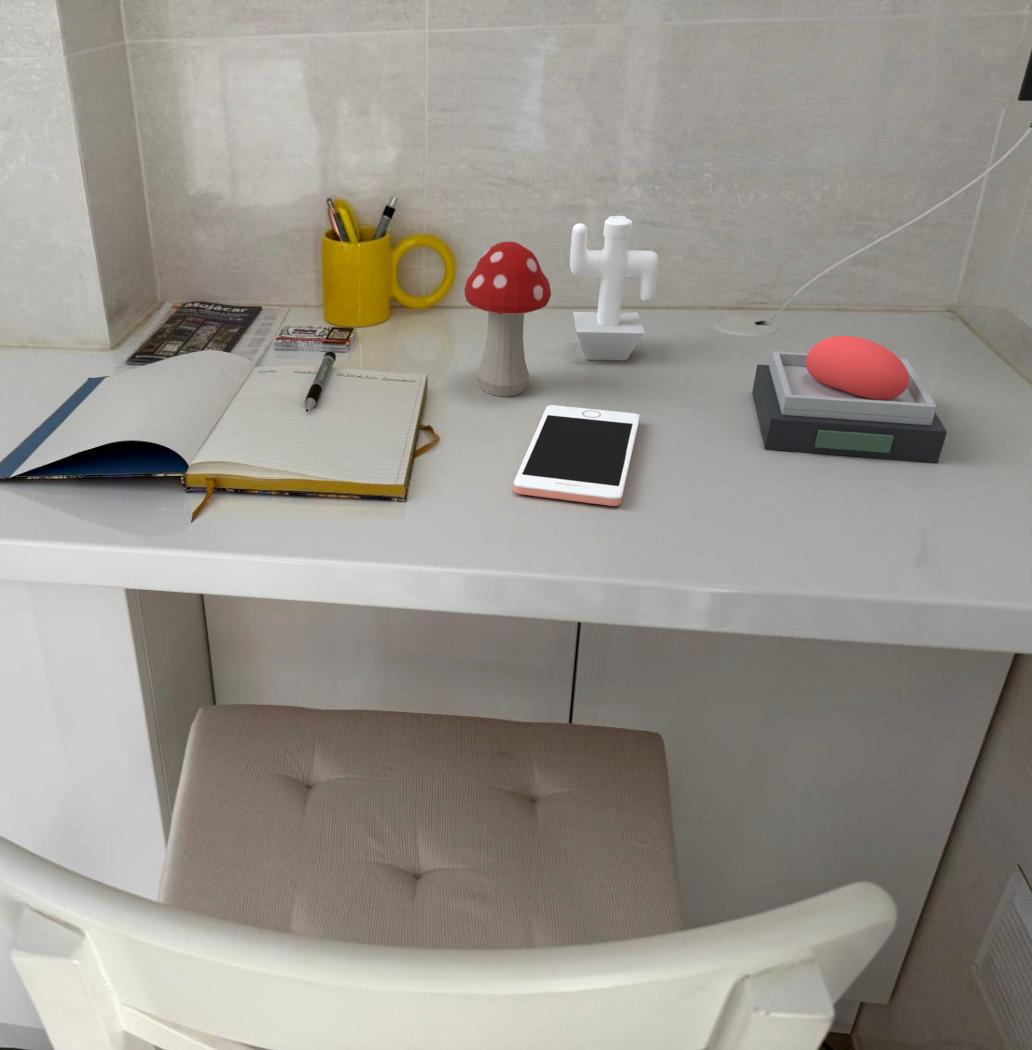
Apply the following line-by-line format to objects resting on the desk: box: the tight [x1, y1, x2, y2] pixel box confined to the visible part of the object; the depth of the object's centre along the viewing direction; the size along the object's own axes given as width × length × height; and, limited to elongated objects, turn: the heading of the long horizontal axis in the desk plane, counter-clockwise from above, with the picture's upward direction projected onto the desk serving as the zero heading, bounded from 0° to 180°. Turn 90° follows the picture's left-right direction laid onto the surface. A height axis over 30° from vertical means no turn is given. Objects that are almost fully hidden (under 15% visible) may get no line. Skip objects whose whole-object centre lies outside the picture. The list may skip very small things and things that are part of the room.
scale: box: [751, 350, 948, 464], centre depth 92 cm, size 14×14×5 cm
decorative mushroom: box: [464, 241, 552, 398], centre depth 101 cm, size 10×9×15 cm
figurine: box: [569, 215, 660, 361], centre depth 109 cm, size 7×9×15 cm
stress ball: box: [806, 335, 909, 400], centre depth 90 cm, size 5×9×6 cm, turn 19°
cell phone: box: [512, 404, 641, 507], centre depth 89 cm, size 9×18×1 cm, turn 160°
